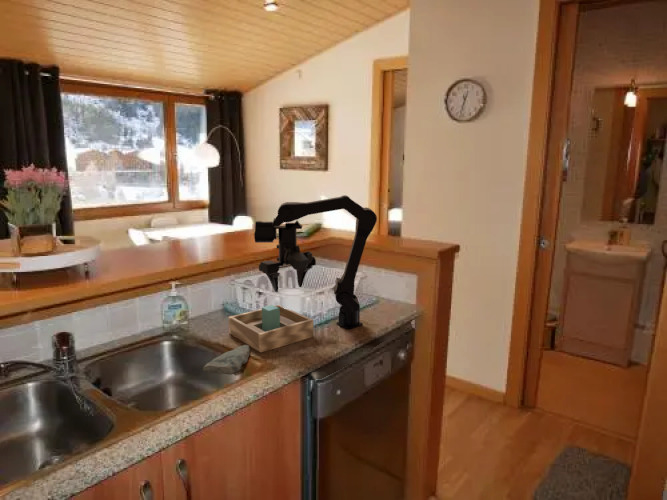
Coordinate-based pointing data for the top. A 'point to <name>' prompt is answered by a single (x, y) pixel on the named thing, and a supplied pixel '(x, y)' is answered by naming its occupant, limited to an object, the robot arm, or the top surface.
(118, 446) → the top surface
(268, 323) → the peg
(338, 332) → the top surface
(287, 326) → the box
